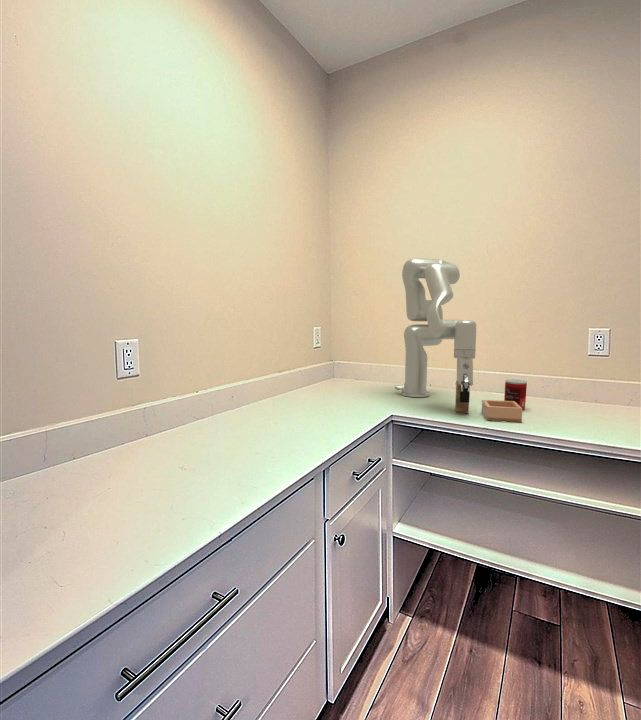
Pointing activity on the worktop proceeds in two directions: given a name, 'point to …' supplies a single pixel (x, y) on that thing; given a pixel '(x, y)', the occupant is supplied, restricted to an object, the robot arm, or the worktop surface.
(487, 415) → the wooden tray
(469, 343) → the robot arm
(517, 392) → the canned food
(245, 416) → the worktop surface
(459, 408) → the tan brown block
